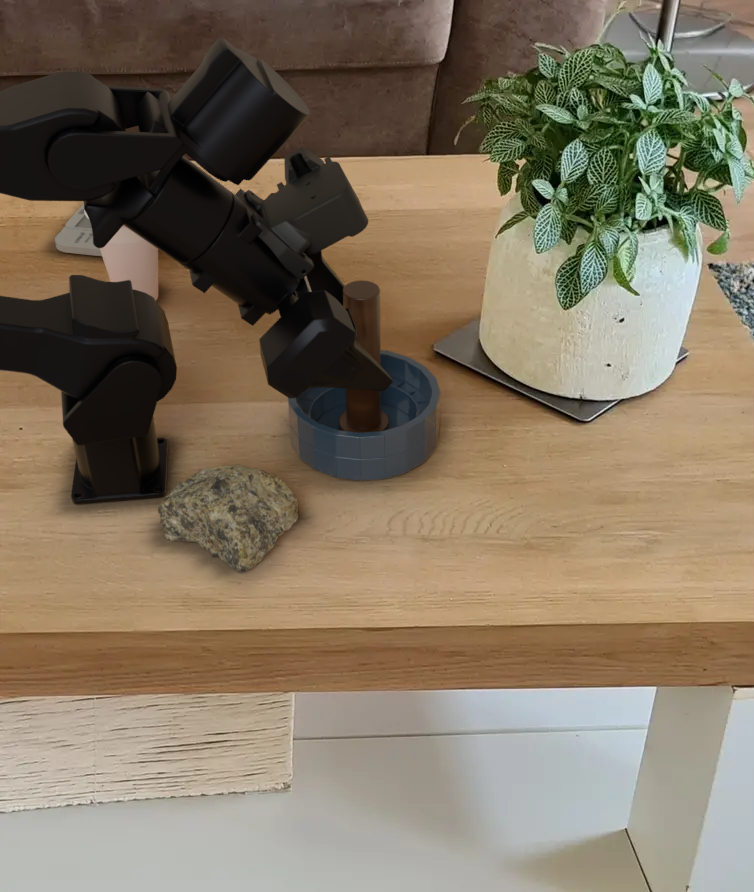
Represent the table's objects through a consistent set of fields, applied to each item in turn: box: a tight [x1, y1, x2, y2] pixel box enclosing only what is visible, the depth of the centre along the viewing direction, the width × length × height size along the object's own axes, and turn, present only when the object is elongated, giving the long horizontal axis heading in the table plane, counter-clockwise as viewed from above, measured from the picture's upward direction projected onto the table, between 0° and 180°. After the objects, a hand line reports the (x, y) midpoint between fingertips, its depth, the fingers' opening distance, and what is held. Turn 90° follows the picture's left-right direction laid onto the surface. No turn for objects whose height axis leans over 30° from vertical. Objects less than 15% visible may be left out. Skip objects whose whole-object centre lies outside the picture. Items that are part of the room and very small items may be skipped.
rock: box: [157, 463, 299, 574], centre depth 79 cm, size 7×8×4 cm
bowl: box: [287, 349, 441, 482], centre depth 88 cm, size 11×11×4 cm
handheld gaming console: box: [54, 203, 102, 257], centre depth 112 cm, size 13×9×10 cm
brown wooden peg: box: [339, 279, 389, 433], centre depth 85 cm, size 4×4×13 cm
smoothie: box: [82, 201, 159, 302], centre depth 100 cm, size 6×6×14 cm
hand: (373, 349), depth 84 cm, fingers open, 9 cm apart
